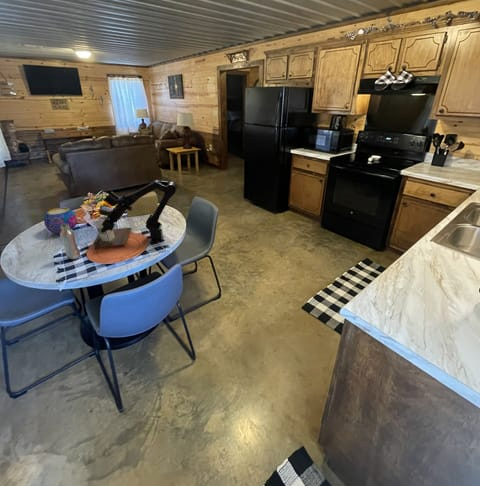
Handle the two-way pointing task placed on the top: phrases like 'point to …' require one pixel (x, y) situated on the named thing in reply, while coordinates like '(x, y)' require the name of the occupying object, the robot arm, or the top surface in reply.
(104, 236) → the syrup box
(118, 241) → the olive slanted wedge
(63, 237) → the plastic bottle
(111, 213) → the robot arm
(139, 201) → the cheese
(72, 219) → the ceramic pot
